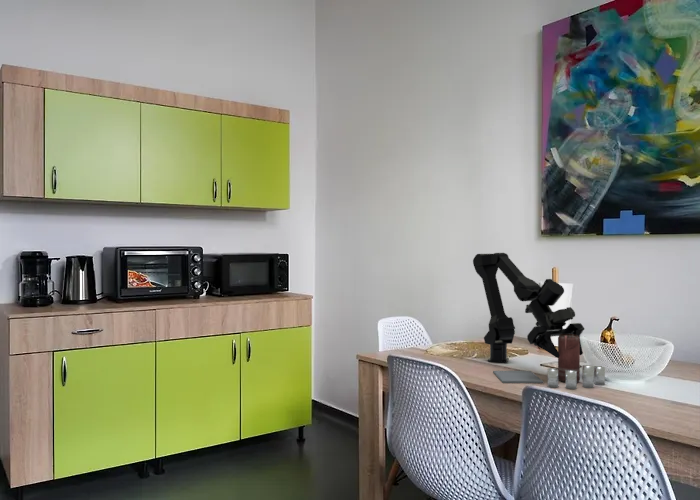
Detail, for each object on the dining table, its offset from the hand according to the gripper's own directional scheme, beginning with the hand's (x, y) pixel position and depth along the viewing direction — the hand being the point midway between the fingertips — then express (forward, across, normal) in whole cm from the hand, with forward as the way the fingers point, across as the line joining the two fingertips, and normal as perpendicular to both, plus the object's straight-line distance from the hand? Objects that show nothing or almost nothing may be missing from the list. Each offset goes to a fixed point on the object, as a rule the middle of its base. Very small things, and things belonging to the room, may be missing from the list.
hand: (570, 355), depth 174 cm
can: (+5, 0, +6) cm, 8 cm away
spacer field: (+9, 0, +2) cm, 9 cm away
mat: (-2, -11, +13) cm, 17 cm away
